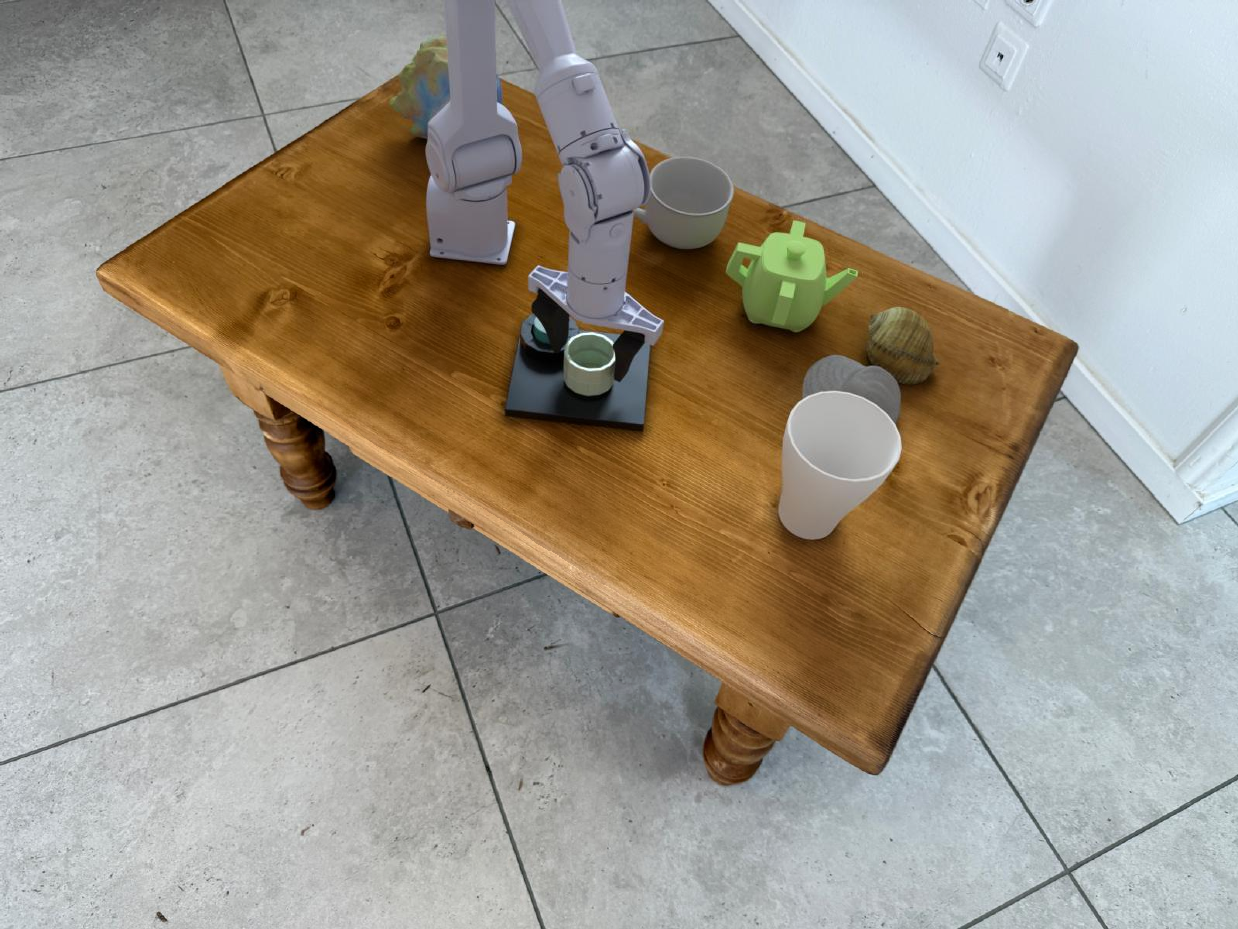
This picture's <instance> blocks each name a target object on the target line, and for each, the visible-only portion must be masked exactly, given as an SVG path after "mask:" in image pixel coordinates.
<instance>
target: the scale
mask: <svg viewBox="0 0 1238 929" xmlns="http://www.w3.org/2000/svg"><path fill="white" fill-rule="evenodd" d="M535 317H536V316H535V315H534V314H533V313H531V314H530V315H529V316H527V318H525V319H524V320H523V321H522V322H521V326H520V331H519V336H518V341H517V346H516V351H515V355H514V361H513V365H512V366H513V367H512V372H511V376H510V381H509V386H508V390H507V396H506V401H505V406H504V416H505V417H509V418H517V419H519V418H520V419H529V420H537V421H546V422H553V423H554V422H556V423H564V424H574V425H580V426H581V425H582V426H589V427H600V428H609V429H617V430H618V429H619V430H625V431H627V430H628V431H636V432H644V428H645V420H646V407H647V393H648V384H649V383H648V382H649V381H648V380H649V369H650V358H651V357H650V356H651V345H650V344H648V343H646V342H645V343H644V345H643V346H642V347H641V349H640V350H639V351H638V353H637V354H636V355H635V356H634V358H633V360H632V363H631V365H630V368H629V371H628V373H627V374H626V375H625V377H624V378H623V379H622V381H621V382H618V381H616V380H614V384H613V385H612V386H611V388H610V389H609V390H608V391H606V392H604V393H602V394H600V395H591V396H586V395H582V394H578V393H575V392H574V391H573V390H571V389H570V388H569V387H568V386H567V385H566V383H565V381H564V379H563V373H564V352H565V345H566V344H565V345H564V346H563V348H562V349H561V350H560V351H559V352H558V354H557V353H555V352H553V350H552V347H551V345H550V344H544V343H541V342H539V341H538V340H537V339H536V338H535V336H534V319H535ZM589 332H594V333H598V334H602V335H605V336H606V337H607V338H609V339H610V340H612V341H613V343H614V342H615V341H616V340H617V338H618V337H619V336H620V335H621V333H620V334H619V333H611V332H601V331H594V330H585V329H580V328H579V326H578V323H577V322H576V321H575V319H574V318H573V317H572V316H571V315H569V335H568V340H567V342H568V341H569V340H570V339H571V338H572V337H574V336H576V335H578V334H580V333H589Z"/></svg>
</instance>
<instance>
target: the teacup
mask: <svg viewBox="0 0 1238 929" xmlns="http://www.w3.org/2000/svg"><path fill="white" fill-rule="evenodd" d="M649 174H650V181H651V192H650V197H649V200H648V202H647V203H646V204H645V207H644V209H643V208H640V207H638V208H637V209H634V218H636V219H639V221H640V223H642V224H644V225H647V227H648V229H649V230H650V232H651V234H653V236H654V237H655V238H656V239H658V240H659V241H660V242H662V243H663V244H665V245H667V246H669V247H671V248H675V249H678V250H692V249H693V250H694V249H699V248H700V249H701V248H702V247H706V246H708V245H709V244H711V243H713V241H715V240H716V239H717V238H718V237H719V236H720V234H721V232H722V231H723V228H724V227H725V224H726V220H727V217H728V213H729V210H730V206H731V203H732V201H733V198H734V193H735V188H734V184H733V182H732V179H731V178H730V176H729V175H728V174H727V172H726V171H724V170H723V169H722V167H719V166H718V165H716V164H714V163H712V162H711V161H708V160H705V159H703V158H697V157H694V156H674V157H671V158H667V159H664V160H662V161H660V162H659V163H657V164H656V165H655V166H654V167H653V168H652V169H651V171H650V172H649Z"/></svg>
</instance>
